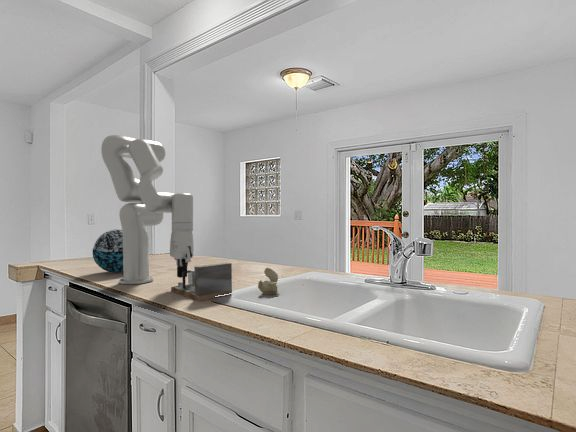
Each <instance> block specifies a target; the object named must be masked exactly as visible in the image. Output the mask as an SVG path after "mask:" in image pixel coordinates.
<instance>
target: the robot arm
mask: <svg viewBox="0 0 576 432" xmlns="http://www.w3.org/2000/svg"><path fill="white" fill-rule="evenodd" d="M100 147H101V148H100V149H101V150H100V151H101V152H100V153H101V157H102V158H101V159H102V160H103V162H104V165H105V166H106V168H107V170H108V173H109V175H110V178H111V182H112V184H113V187H114V190H115V194H116V195H117V197H118V200H120V201H121V202H124V203H125V204H124V205H123V206H122V207H121V208H120V210H119V212H118V213H119V220H120V225H121V230H122V234H123V272H122V273H123V276H122V277H123V278H120V279H119V280H118V282H119V284H121V285H140V284H146V283H150V282H151V283H152V281H154V277H153V276H150V262H149V261H150V259H149V258H150V253H149V249H150V247H149V235H148V232H147V231H146V229H145V228H144V227H151V226H153V227H154V226H158V225H160V224H161V223H162V222H163V220H164V214H165V213H167V214H169V213H170V214H171V233H170V242H169V255H170V257H171V258H173V259H174V261H175V263H176V264H175V265H176V277H177V278H182V272H184V271H188V266H189V263H191V262H192V258H193V257H194V234H193V231H194V196H193V195H192V194H191V193H189V192H188V193H186V192H183V193H182V192H176V193H175V192H159V191H157V189H156V187H155V185H154V184H153V181H155V180H157V179H158V178H159V177H161V176H162V174H163V172H164V167H163V166H162V164H161V162H163V161H164V160H165V157H166V150H165V147H164V145H163V144H162V143H160V142H159V141H153V140H149V139H143V138H135V137H130V136H125V135H121V134H120V135H119V134H112V135H110V134H109V135H107V136H106V137H105V138H103V140H102V143H101V146H100ZM124 158H128V159H132V160H133V163H134V164H135V167H136V169H137V171H138V172H139V174H140V179H138V178H136V176H135V175H134V171H133V169H132V167H131V165H130V164H129V163H128V162H127V161H126V160H125V159H124ZM185 278H188V273H185Z"/></svg>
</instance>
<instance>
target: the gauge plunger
mask: <svg viewBox="0 0 576 432" xmlns="http://www.w3.org/2000/svg"><path fill="white" fill-rule="evenodd" d="M185 273H187V284H188V285H191V286H195V273H194V269H187V271H184V272H182V280H181V281H182V283H183V289H185V288H186V286H185V284H186V277H185Z"/></svg>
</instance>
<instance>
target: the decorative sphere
mask: <svg viewBox="0 0 576 432" xmlns="http://www.w3.org/2000/svg"><path fill="white" fill-rule="evenodd" d="M92 258H93V261H94V262H95V264H96V265H97V266H98V267H99V268H100V269H102V270H104V271H106V272H109V273H115V274H119V273H123V234H122V229H111V230H109V231H106V232H104V233H102V234H100V236H99V237H98V238H97V239H96V241H95V242H94V245H93V248H92Z"/></svg>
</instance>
